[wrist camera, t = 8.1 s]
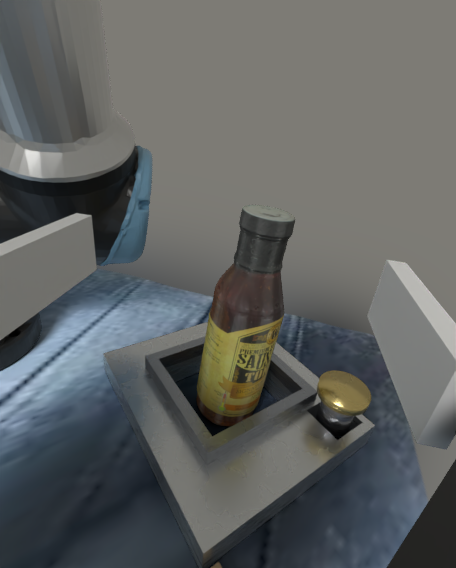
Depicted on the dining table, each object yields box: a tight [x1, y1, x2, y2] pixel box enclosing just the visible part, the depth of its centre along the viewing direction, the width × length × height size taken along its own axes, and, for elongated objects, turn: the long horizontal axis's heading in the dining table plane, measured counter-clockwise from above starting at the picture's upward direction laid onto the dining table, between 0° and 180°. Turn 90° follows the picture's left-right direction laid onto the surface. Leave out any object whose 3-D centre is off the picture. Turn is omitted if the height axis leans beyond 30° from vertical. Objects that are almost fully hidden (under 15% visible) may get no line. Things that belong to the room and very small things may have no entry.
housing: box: [103, 322, 375, 568], centre depth 32 cm, size 21×18×4 cm
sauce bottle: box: [196, 205, 295, 426], centre depth 28 cm, size 6×6×20 cm
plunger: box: [316, 371, 371, 437], centre depth 29 cm, size 4×4×4 cm
